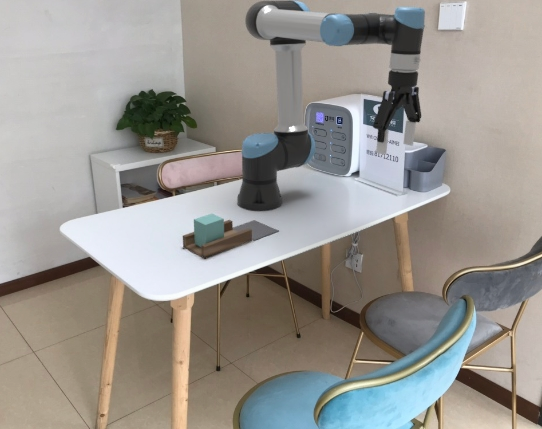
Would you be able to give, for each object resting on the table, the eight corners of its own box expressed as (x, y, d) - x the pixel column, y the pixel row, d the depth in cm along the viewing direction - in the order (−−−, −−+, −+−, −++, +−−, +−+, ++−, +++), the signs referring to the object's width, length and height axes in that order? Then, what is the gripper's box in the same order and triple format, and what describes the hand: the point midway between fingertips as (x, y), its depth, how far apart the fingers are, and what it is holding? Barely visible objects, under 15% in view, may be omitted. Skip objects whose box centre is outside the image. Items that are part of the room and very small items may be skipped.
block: (194, 244, 151) (193, 219, 148) (212, 237, 155) (212, 213, 152) (206, 250, 147) (205, 224, 144) (224, 243, 151) (223, 218, 148)
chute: (183, 246, 151) (182, 235, 150) (229, 230, 162) (229, 219, 161) (205, 258, 144) (204, 247, 143) (251, 240, 155) (251, 229, 154)
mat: (229, 229, 163) (229, 228, 163) (254, 220, 169) (254, 219, 169) (254, 240, 155) (254, 239, 155) (278, 231, 162) (278, 230, 162)
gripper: (389, 76, 130) (380, 160, 138) (440, 67, 146) (430, 143, 154) (363, 72, 135) (357, 154, 143) (416, 65, 151) (407, 138, 159)
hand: (395, 149), depth 149 cm, fingers open, 13 cm apart
